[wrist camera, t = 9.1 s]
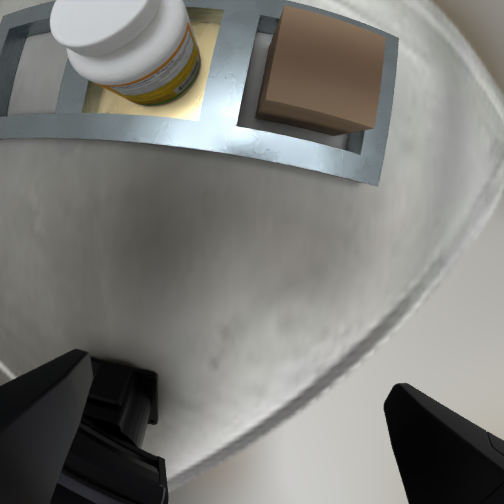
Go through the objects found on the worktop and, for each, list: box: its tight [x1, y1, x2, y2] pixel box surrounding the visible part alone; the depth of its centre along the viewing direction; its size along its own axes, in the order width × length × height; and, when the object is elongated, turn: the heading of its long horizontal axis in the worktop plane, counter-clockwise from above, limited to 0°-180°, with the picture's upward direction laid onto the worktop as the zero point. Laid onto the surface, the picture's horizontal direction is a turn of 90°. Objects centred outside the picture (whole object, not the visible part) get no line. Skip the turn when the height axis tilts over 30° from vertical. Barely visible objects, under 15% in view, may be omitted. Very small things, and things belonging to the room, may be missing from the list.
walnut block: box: [255, 5, 386, 136], centre depth 14 cm, size 5×5×6 cm
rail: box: [0, 0, 399, 186], centre depth 14 cm, size 10×28×2 cm, turn 79°
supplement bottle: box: [50, 0, 201, 106], centre depth 11 cm, size 5×5×10 cm
